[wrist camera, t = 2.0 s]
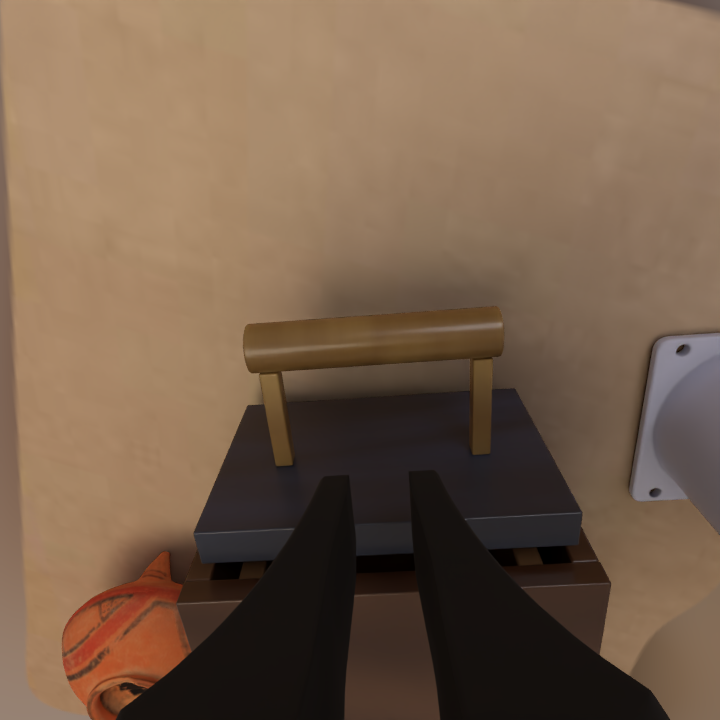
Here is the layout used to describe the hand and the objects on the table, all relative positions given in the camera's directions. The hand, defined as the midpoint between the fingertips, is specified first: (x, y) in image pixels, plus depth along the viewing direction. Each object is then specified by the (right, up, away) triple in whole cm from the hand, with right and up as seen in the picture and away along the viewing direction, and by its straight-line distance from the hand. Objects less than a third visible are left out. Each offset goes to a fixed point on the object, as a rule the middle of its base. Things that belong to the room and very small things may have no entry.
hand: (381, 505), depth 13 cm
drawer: (+1, -1, +10) cm, 10 cm away
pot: (-10, -9, +15) cm, 20 cm away
